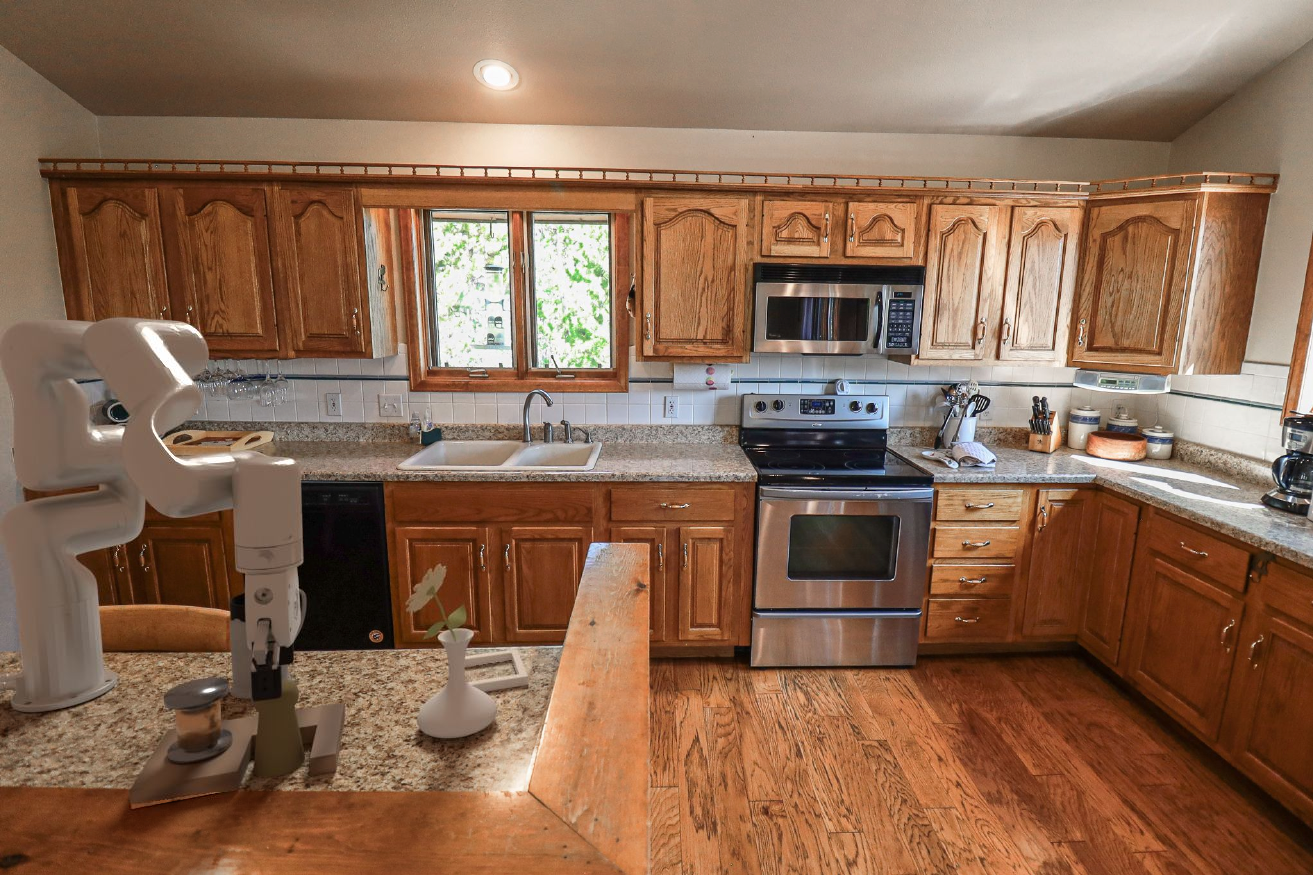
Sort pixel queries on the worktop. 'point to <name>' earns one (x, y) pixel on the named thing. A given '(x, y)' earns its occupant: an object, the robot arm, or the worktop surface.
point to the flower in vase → (451, 672)
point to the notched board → (236, 757)
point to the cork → (278, 734)
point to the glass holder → (241, 651)
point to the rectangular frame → (499, 681)
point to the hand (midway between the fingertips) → (274, 680)
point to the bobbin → (198, 720)
